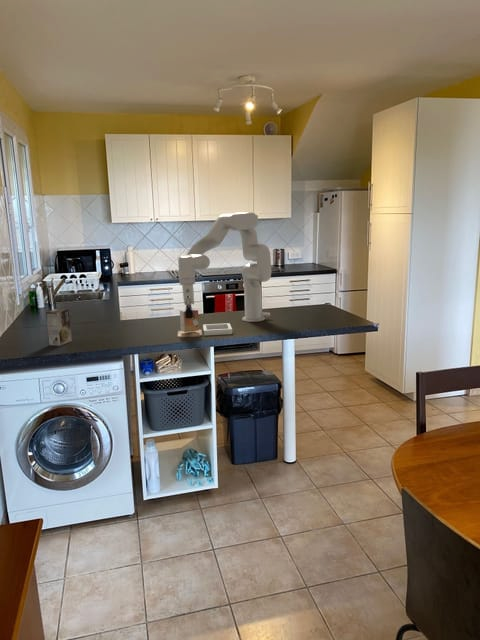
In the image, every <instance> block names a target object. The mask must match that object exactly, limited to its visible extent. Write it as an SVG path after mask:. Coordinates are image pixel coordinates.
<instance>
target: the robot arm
mask: <svg viewBox="0 0 480 640" xmlns="http://www.w3.org/2000/svg"><path fill="white" fill-rule="evenodd" d="M258 224H259V217H258V215H257V214H256V213H255V212H252V211H249V212H235V213H223V214H220V215H218V217H217V218H216V220H215V221H214V223H213V224H212V226H211V227H210V228H209V230H208V231H207V233H206V235H205V236H203V237H201V238H200V239H199V240H198V241H197V242H195V243H194V245H192V246H191V248H190V249H189V250H188V252H186V253H187V254H186V255H181V256H179V257H178V258H177V262H178V281H179V285H180V286H181V287H182V300H183V304H184V306H185V310H186V318H193V316H192V309H193V307H192V305H195V296H194V295H195V294H194V293H195V291H194V285H195V284H196V280H195V279H196V277H195V270H198V271H199V270H200V271H202V270H203V271H204V270H206V269H208V268H209V266H210V264H211V261H210V258H209V257H208V256H207V255H205V253H206V252H208V251H211V250H213V249H216V248H218V247H219V246H220V245H221V244H222V242H223V241H224V239H225V238H226V236H227V235H228V233H229V232H235V231H236V232H237V231H238V232H239V234H240V237H241V244H242V247H241V248H242V255H243V258H244V260H245V261H248V262H250V263H247V264H245V265H244V266H243V267H242V269H241V276H242V280H243V291H244V292H243V293H244V294H243V295H244V316H243V317H242V318H241V319H242V321H244V322H248V323H252V322H253V323H255V322H256V323H257V322H262V321H265V320H266V319H265V317H271V312H264V311H263V307H262V286H261V283H263V282H264V283H267V282H268V281H269V280H270V279H271V277H272V261H271V259H272V258H271V251H270V248H269V247H268V245H267V244H264V243H259V241H258V234H257V233H258V232H257V230H256V229H255V228H256V227H257V226H258ZM251 262H253V263H251ZM255 262H256V263H255ZM190 309H191V310H190Z"/></svg>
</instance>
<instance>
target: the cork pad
mask: <svg viewBox="0 0 480 640" xmlns="http://www.w3.org/2000/svg"><path fill="white" fill-rule="evenodd" d="M202 331H203V330H202V329H199V331H190V332H183V331H181V330H177V338H191V337H195V338H196V337H203V332H202Z"/></svg>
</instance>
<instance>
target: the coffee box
mask: <svg viewBox="0 0 480 640" xmlns="http://www.w3.org/2000/svg"><path fill="white" fill-rule="evenodd" d="M69 312H70V311H69V309H68V308H55V309H51V310H49V311H46V312H45V316H46V324H47V331H48V339H49V346H56V347H57V346H58V347H59V346H60V347H61V346H63V345H65V344H68V343H70V342H72V341H73V337H72V330H71V321H70V313H69Z"/></svg>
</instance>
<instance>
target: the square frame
mask: <svg viewBox="0 0 480 640" xmlns="http://www.w3.org/2000/svg"><path fill="white" fill-rule="evenodd" d="M202 331H203V335H204V336H217V335H218V336H219V335H221V336H223V335H232V334H233V328H232V326H231V323H230V322H227V323H224V322H223V323H211V324H209V323H208V324H202Z"/></svg>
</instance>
